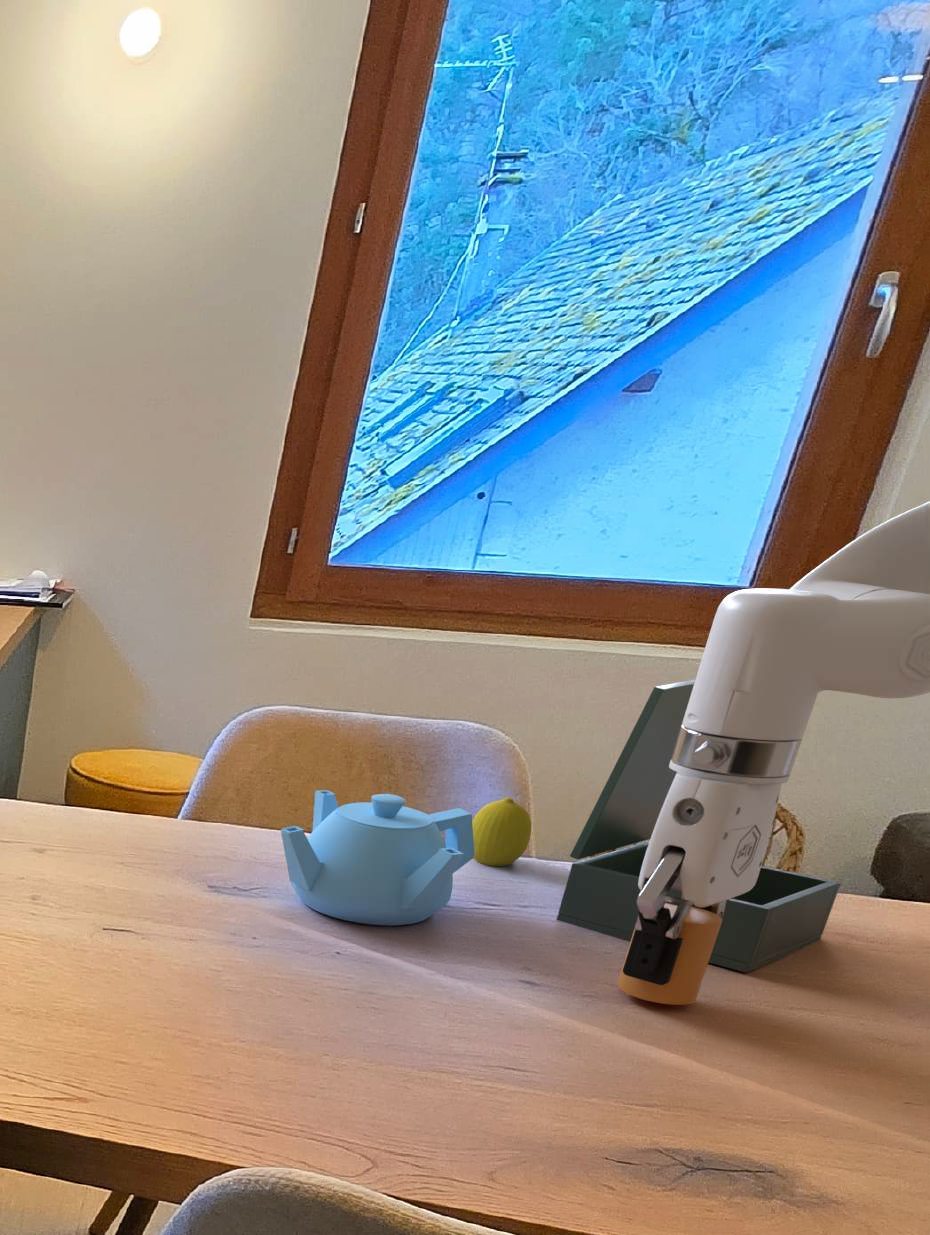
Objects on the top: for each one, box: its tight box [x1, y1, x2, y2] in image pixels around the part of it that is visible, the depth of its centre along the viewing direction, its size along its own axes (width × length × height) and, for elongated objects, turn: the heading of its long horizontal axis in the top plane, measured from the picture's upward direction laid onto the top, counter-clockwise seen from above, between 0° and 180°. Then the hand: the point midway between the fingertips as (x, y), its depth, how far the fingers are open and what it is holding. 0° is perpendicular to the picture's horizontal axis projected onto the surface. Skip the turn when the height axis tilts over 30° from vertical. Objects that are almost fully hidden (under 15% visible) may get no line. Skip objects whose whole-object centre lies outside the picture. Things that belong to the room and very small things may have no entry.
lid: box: [569, 678, 696, 861], centre depth 131 cm, size 16×15×1 cm
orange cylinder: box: [616, 904, 722, 1006], centre depth 116 cm, size 5×5×7 cm
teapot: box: [280, 789, 475, 926], centre depth 135 cm, size 15×15×11 cm
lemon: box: [472, 796, 532, 867], centre depth 147 cm, size 6×6×8 cm
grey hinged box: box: [556, 840, 842, 974], centre depth 130 cm, size 16×15×6 cm
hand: (663, 970), depth 116 cm, fingers closed on orange cylinder, 5 cm apart
